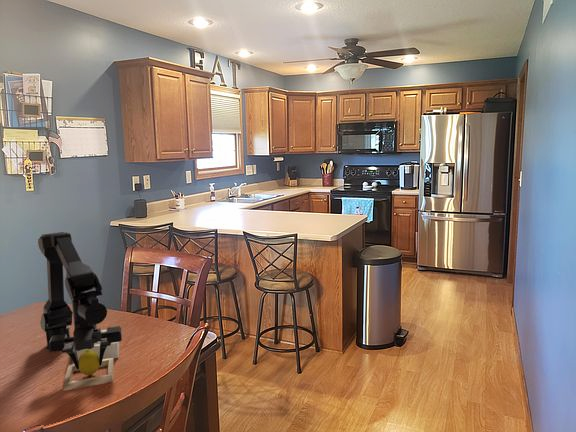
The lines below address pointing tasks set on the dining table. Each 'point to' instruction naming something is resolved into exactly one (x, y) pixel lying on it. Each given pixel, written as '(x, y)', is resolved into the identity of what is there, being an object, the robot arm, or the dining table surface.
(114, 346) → the bin
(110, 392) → the dining table surface
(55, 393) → the dining table surface
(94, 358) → the lemon
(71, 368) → the rectangular frame
